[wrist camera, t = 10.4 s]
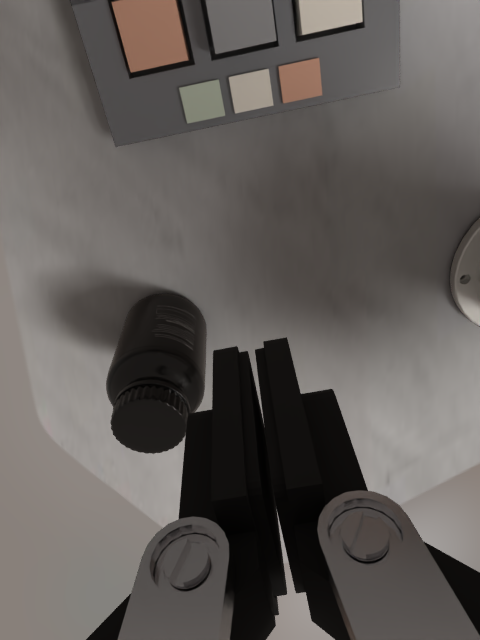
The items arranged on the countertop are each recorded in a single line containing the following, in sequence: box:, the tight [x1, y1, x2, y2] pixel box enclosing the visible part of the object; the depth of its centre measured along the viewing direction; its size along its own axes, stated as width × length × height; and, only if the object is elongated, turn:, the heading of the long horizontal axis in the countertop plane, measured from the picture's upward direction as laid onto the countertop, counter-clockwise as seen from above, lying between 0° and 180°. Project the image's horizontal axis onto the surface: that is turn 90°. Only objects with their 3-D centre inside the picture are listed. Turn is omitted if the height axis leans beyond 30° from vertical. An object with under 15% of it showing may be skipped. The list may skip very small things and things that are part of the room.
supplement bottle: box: [106, 294, 207, 454], centre depth 34 cm, size 7×7×12 cm
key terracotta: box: [112, 0, 190, 73], centre depth 26 cm, size 3×3×2 cm
